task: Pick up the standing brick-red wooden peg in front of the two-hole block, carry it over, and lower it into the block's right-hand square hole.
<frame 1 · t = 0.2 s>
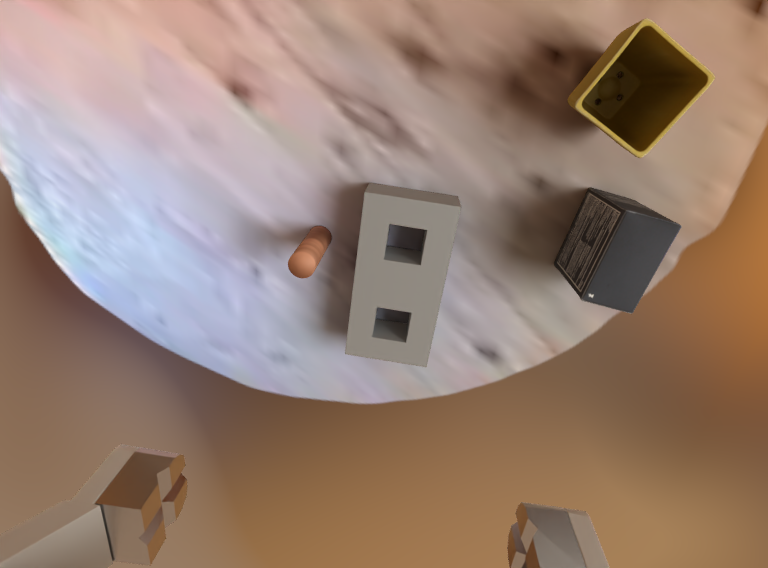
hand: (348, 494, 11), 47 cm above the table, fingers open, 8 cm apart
small box: (593, 233, 56), on the table
peg: (320, 236, 59), on the table
flower pot: (606, 90, 49), on the table
hole block: (399, 271, 60), on the table
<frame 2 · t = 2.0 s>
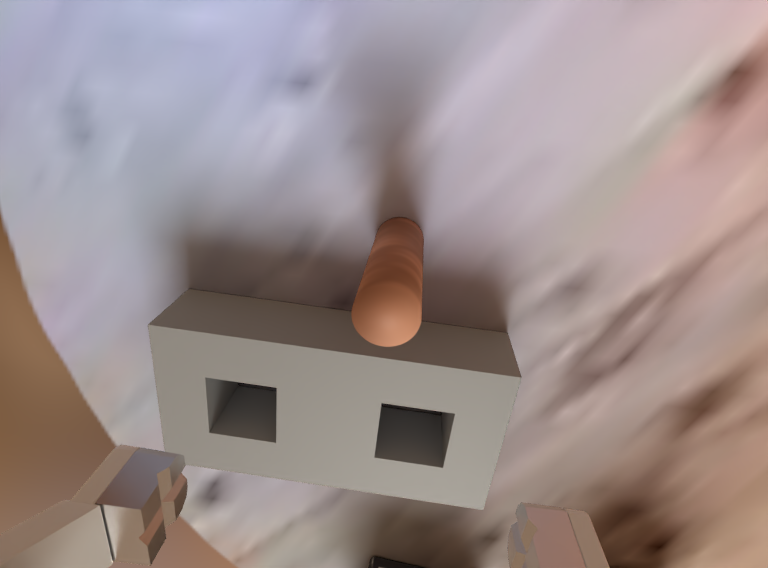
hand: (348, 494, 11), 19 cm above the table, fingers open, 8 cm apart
peg: (399, 240, 28), on the table
hole block: (340, 376, 33), on the table
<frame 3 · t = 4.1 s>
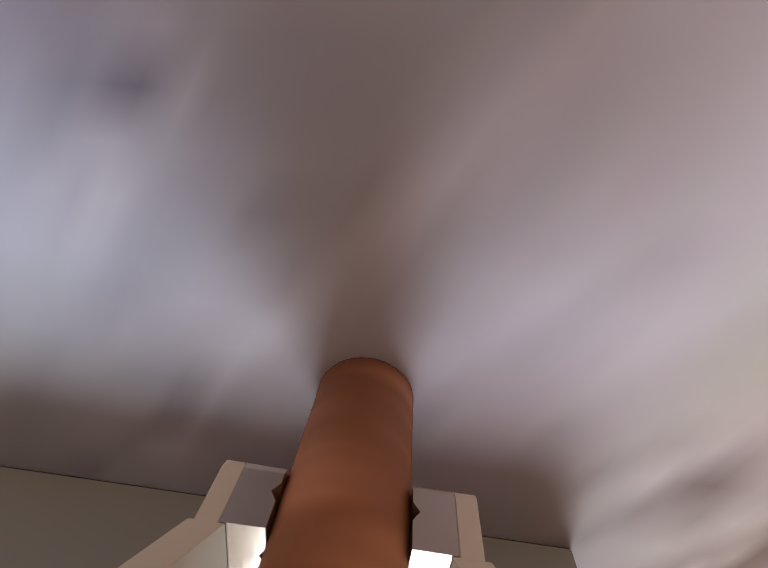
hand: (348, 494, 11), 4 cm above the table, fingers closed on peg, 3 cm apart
peg: (365, 397, 14), on the table, touching gripper
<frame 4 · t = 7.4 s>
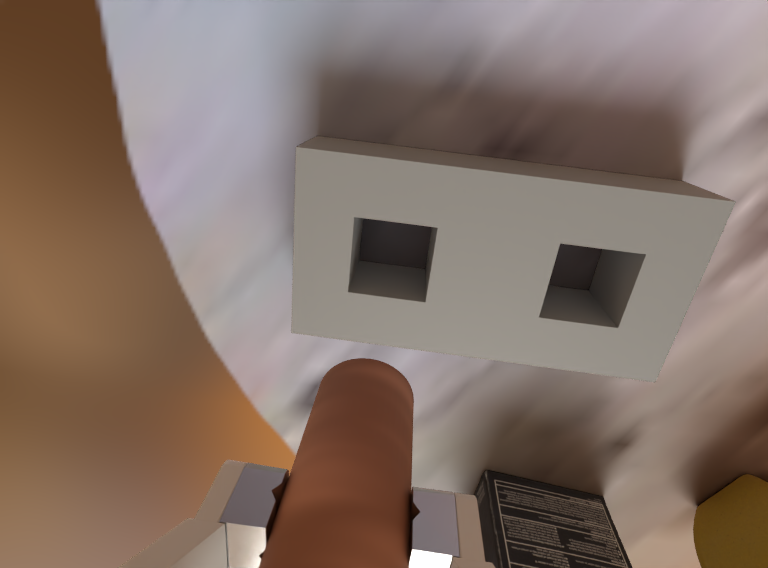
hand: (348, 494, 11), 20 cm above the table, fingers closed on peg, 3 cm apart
small box: (530, 505, 39), on the table
peg: (365, 398, 14), point 17 cm above the table, touching gripper
flower pot: (737, 500, 37), on the table
hole block: (479, 244, 29), on the table
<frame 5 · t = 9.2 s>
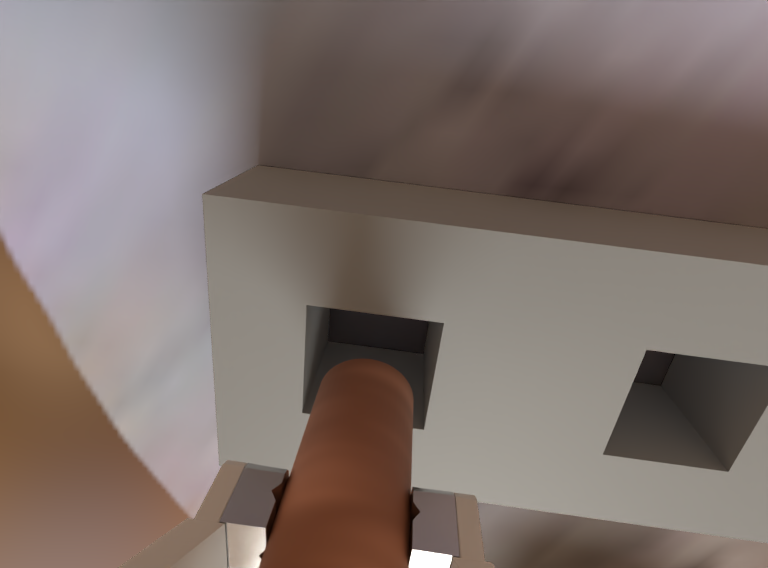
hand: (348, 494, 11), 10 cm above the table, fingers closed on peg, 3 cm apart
peg: (365, 398, 14), point 6 cm above the table, touching gripper
hole block: (503, 321, 20), on the table
when the fingers open (6 cm above the table, at t = 10.9 s): peg drops 2 cm, resting in hole block.
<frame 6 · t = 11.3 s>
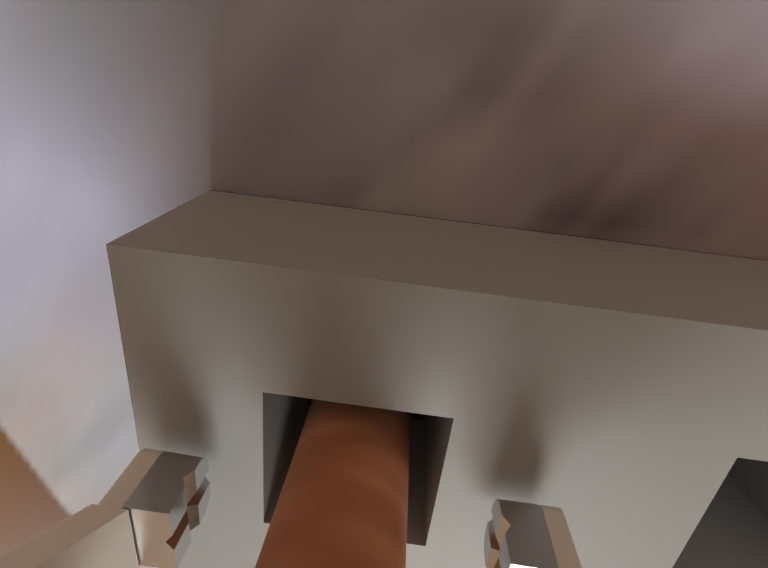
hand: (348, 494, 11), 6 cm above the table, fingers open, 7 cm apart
peg: (370, 362, 16), resting in hole block
hole block: (525, 383, 16), on the table
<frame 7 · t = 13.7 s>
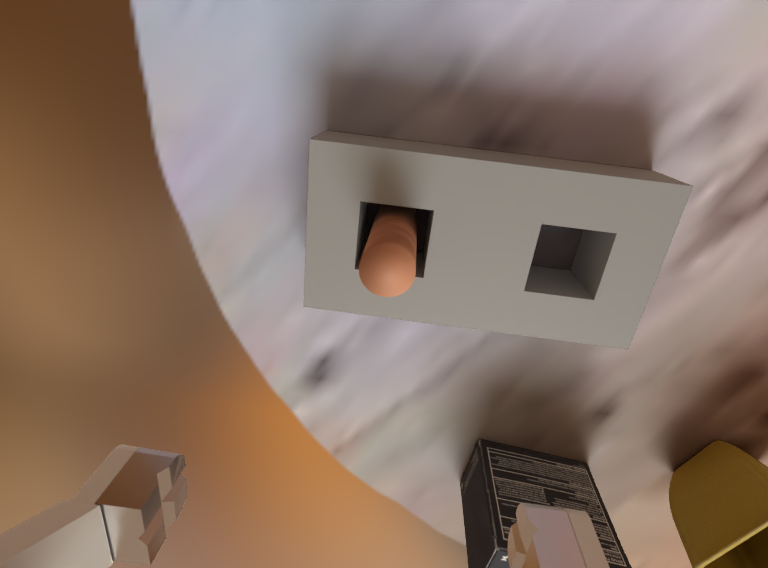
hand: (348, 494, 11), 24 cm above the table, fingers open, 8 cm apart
small box: (521, 472, 42), on the table
peg: (396, 218, 33), resting in hole block
flower pot: (710, 465, 40), on the table
hole block: (472, 228, 33), on the table
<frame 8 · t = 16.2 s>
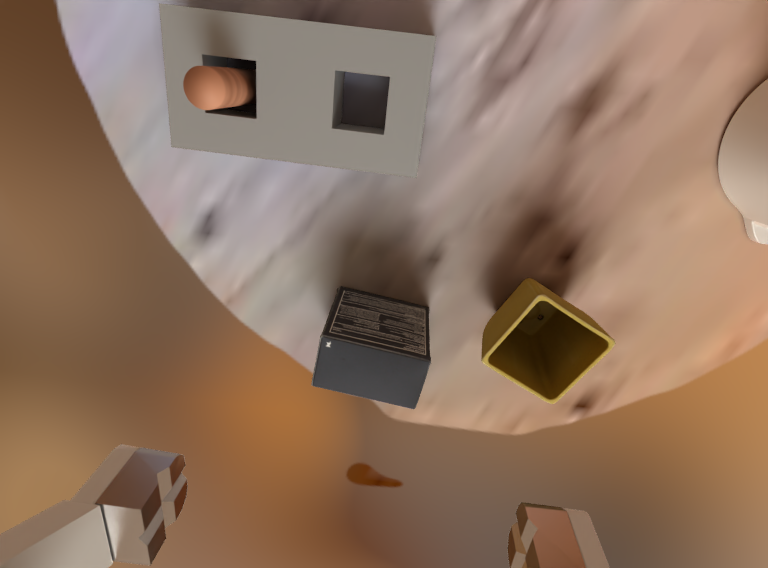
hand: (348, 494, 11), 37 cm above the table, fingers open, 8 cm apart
small box: (378, 319, 52), on the table
peg: (250, 86, 42), resting in hole block
flower pot: (526, 307, 49), on the table
hole block: (308, 93, 42), on the table
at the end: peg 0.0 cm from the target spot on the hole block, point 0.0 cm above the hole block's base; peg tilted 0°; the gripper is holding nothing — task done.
